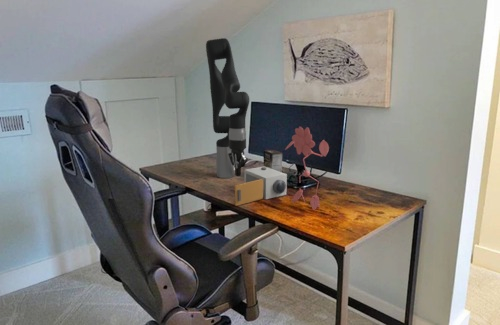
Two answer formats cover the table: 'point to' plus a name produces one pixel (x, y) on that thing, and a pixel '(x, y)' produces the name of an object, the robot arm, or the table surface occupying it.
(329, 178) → the table surface
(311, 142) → the pink flower figure
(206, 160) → the table surface
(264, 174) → the camera body
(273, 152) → the coffee box
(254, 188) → the side door
